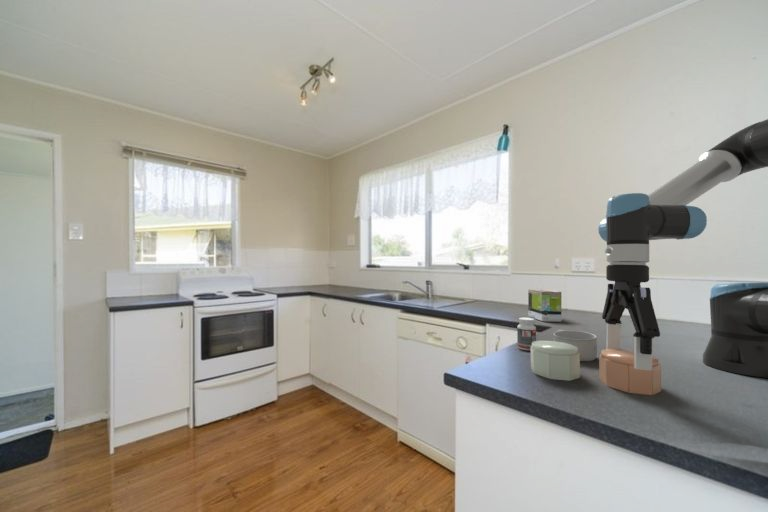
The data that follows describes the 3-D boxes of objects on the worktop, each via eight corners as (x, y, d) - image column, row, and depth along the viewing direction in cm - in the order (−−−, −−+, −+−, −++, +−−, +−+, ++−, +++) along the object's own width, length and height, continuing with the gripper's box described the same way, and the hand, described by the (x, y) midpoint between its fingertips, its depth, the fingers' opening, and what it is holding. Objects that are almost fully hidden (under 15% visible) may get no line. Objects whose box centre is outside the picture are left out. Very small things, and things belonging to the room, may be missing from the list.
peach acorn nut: (643, 385, 72) (643, 350, 72) (670, 404, 63) (669, 364, 63) (594, 380, 75) (594, 347, 75) (612, 398, 65) (612, 359, 66)
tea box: (562, 321, 150) (562, 291, 150) (541, 321, 150) (541, 291, 151) (546, 316, 165) (546, 288, 165) (527, 316, 165) (527, 288, 166)
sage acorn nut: (570, 373, 80) (570, 342, 80) (584, 388, 70) (584, 353, 70) (528, 369, 83) (528, 339, 83) (536, 383, 73) (535, 349, 73)
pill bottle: (537, 351, 99) (536, 320, 99) (517, 350, 101) (517, 319, 102) (535, 347, 105) (535, 317, 105) (517, 345, 107) (516, 316, 107)
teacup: (605, 369, 83) (604, 339, 84) (560, 366, 86) (560, 337, 86) (582, 354, 97) (582, 328, 97) (545, 352, 99) (545, 326, 99)
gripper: (587, 263, 82) (587, 344, 82) (635, 263, 58) (635, 376, 58) (620, 264, 80) (620, 346, 80) (684, 264, 56) (684, 381, 56)
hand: (626, 359), depth 69 cm, fingers open, 13 cm apart
